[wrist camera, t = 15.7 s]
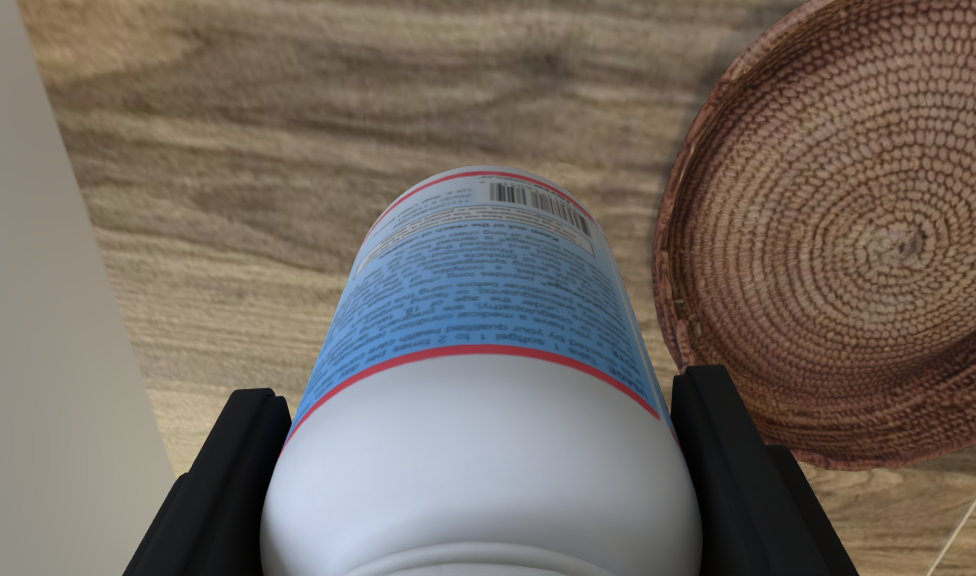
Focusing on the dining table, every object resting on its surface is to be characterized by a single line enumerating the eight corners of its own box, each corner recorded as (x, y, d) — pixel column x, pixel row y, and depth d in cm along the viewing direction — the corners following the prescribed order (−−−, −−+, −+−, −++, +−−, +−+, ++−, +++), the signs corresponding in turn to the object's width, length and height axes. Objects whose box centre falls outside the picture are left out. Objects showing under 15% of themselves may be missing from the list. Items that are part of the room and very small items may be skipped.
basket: (694, -76, 26) (732, -73, 22) (1226, -56, 26) (1369, -49, 22) (620, 401, 37) (636, 466, 33) (997, 416, 37) (1063, 483, 33)
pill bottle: (305, 266, 16) (19, 798, 7) (505, 100, 15) (523, 496, 5) (471, 422, 19) (445, 997, 9) (664, 295, 17) (906, 846, 7)
